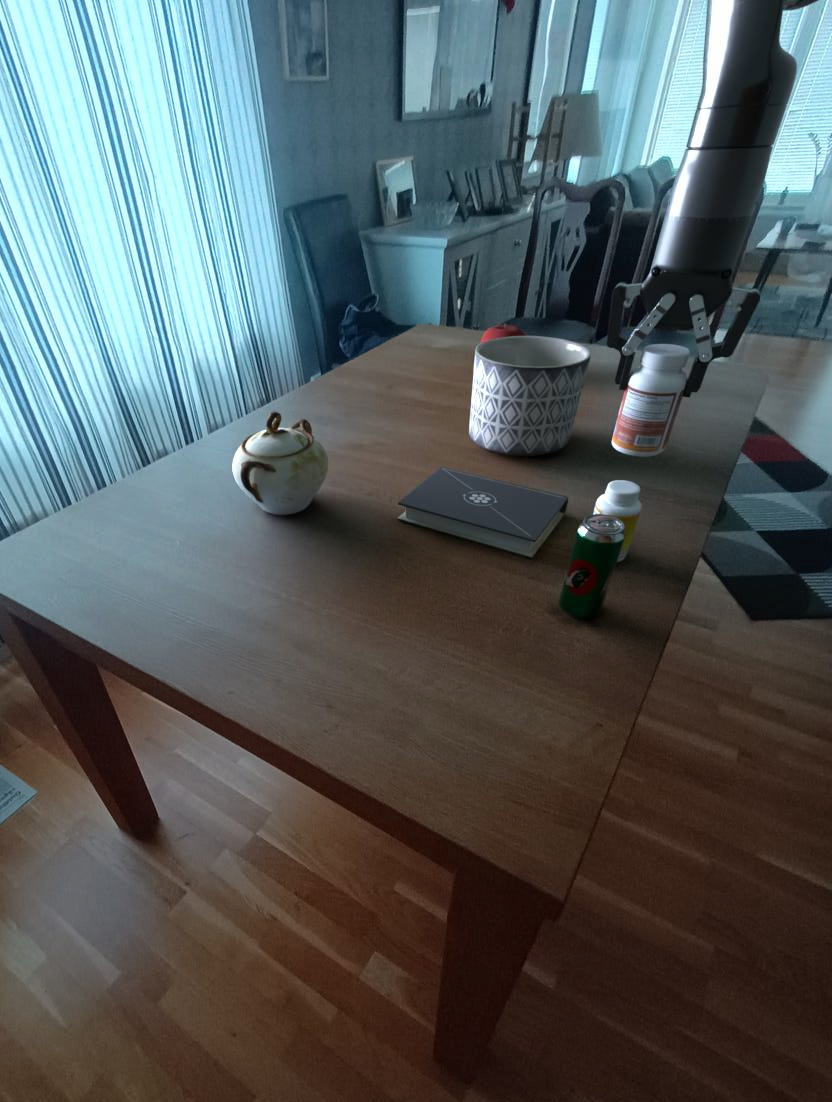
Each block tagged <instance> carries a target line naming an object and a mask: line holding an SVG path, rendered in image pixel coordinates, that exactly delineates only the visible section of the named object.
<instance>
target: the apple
mask: <svg viewBox="0 0 832 1102" xmlns="http://www.w3.org/2000/svg"><path fill="white" fill-rule="evenodd" d="M510 336H526V333H525V332H524V331H523V330H522V328H520V327H518V326H516V325H509V324H507V322H505V323H504V324H499V325H494V326H490V327H489V328H488V329H486V330H485V331H484V333H483V335H482V337H481V340H480V342H479V344H481V343H483V342H485V341H488V340H492V339H496V338H502V337H510Z"/></svg>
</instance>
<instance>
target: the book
mask: <svg viewBox="0 0 832 1102" xmlns="http://www.w3.org/2000/svg"><path fill="white" fill-rule="evenodd" d="M568 503H569V496H567V495H562V494H559V493H555V492H551V491H546V490H542V489H538V488H533V487H529V486H525V485H521V484H516V483H512V482H507V481H503V480H499V479H494V478H490V477H487V476H482V475H478V474H474V473H469V472H465V471H460V470H456V469H452V468H449V467H443V466H440V467H438V468H437V469H436V470H435V471H434V472H432V473H431V474H430V475H429V476H428V477H426V478H425V479H424V480H423V481H422V482H420V483H419V484H418V485H416V487H414V488H413V489H411V491H410V492H408V493H407V494H406V495H405V496H404V497H402V498H401V499H399V501H398V502H397V505H399V506H402V507H405V511H404V512H403V513H402V514H400V515H399V516H398V517H397V521H399V522H403V523H406V524H410V525H413V526H417V527H420V528H423V529H428V530H430V531H435V532H438V533H441V534H444V535H448V536H452V537H455V538H459V539H461V540H465V541H469V542H472V543H476V544H479V545H482V546H486V547H490V548H493V549H497V550H500V551H503V552H507V553H510V554H514V555H517V556H520V557H524V558H527V559H533V558H534V556H535V555H536V554H537V552H538V551H539V550H540V548H541V547H542V546H543V545H544V543H545V542H546V540H548V538H549V537H550V535H552V532H553V531H554V530H555V528H556V527H557V526H558V524H559V523H560V522H561V521H562V519H563V517H565V515H566V511H567V508H568Z"/></svg>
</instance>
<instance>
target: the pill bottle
mask: <svg viewBox="0 0 832 1102" xmlns="http://www.w3.org/2000/svg"><path fill="white" fill-rule="evenodd" d="M690 353H691V351H690V349H689V348H687V347H685V346H683V345H678V344H671V343H654V344H653V343H652V344H648V345H646V346H644V347H643V349H642V352H641V356H640V361H639V363H640V364H641V365H640V366H638V367H635V369H633V370H631V371H632V372H630V375H629V378H628V381H627V385H626V388H625V391H624V392H623V396H622V400H621V403H620V408H619V411H618V415H617V419H616V422H615V425H614V426H615V427H614V430H613V433H612V438H611V445H612V447H613V448H614V449H615V450H616V451H617V452H620V453H622V454H624V455H628V456H633V457H643V458H644V457H645V458H646V457H654V456H657V455H660V454H661V453H663V452H664V451H665V450H666V448H667V445H668V442H669V439H670V436H671V434H672V430H673V427H674V424H675V422H676V418H677V415H678V412H679V410H680V406H681V403H682V400H683V398H684V397H683V394H684V391H685V388H686V384H687V380H688V376H687V374H686V372H685V371H684V370H683V368H685V366H686V364H687V363H688V360H689V356H690Z"/></svg>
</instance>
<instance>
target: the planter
mask: <svg viewBox="0 0 832 1102" xmlns="http://www.w3.org/2000/svg"><path fill="white" fill-rule="evenodd" d="M591 357H592V352H591V350H590V349H589V348H588V347H587V346H585V345H584V344H581V343H578V342H577V341H572V340H568V339H564V338H557V337H551V336H543V335H542V336H541V335H525V336H510V337H502V338H496V339H492V340H488V341H485V342H483V343H481V344H480V343H479V344H478V345H477V346H476V347H475V350H474V363H473V376H472V387H471V401H470V413H469V427H468V434H469V437H470V439H471V440H472V442H474V443H475V444H476V445H477V446H479V447H480V448H483V449H484V450H487V451H490V452H493V453H497V454H500V455H501V454H503V455H507V456H516V457H532V456H533V457H534V456H542V455H543V456H544V455H547V454H551V453H554V452H557V451H559V450H561V449H563V448H564V447H566V446H567V444H568V443H569V442H570V439H571V435H572V431H573V427H574V424H575V420H576V419H575V418H576V415H577V411H578V408H579V404H580V400H581V395H582V392H583V387H584V384H585V380H586V376H587V373H588V370H589V369H588V368H589V365H590V360H591Z"/></svg>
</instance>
